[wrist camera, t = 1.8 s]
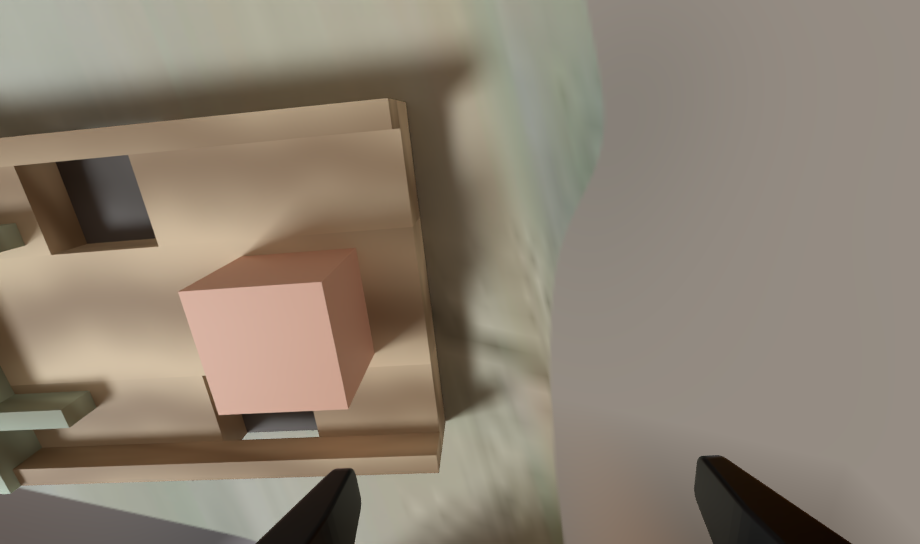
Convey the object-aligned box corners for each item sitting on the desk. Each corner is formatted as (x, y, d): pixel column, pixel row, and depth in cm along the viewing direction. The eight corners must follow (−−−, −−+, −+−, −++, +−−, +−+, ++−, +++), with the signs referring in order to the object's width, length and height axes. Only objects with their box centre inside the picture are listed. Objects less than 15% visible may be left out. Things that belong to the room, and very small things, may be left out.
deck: (445, 422, 23) (437, 481, 19) (67, 437, 25) (-8, 494, 21) (405, 102, 18) (384, 97, 14) (-71, 150, 19) (-204, 158, 16)
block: (374, 353, 19) (348, 409, 16) (269, 359, 20) (218, 414, 16) (355, 247, 18) (321, 282, 14) (241, 256, 18) (177, 291, 14)
